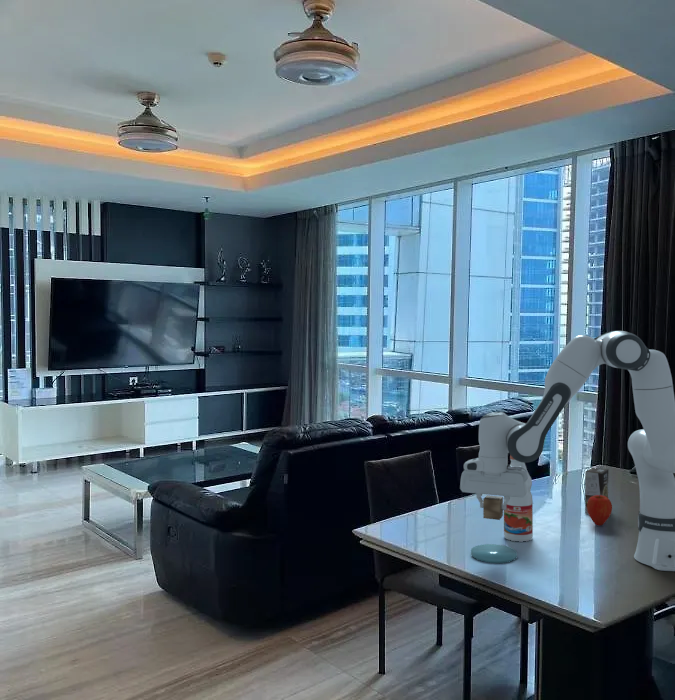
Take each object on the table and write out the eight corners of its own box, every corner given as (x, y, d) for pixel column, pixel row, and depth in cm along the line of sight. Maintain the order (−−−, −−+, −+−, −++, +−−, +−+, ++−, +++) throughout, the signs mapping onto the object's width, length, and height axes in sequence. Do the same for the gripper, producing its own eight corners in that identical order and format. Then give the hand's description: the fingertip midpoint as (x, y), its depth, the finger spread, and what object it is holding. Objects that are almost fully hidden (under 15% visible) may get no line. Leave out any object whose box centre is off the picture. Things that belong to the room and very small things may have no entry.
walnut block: (502, 515, 214) (502, 496, 214) (499, 519, 209) (499, 500, 209) (486, 514, 216) (486, 495, 216) (483, 518, 211) (483, 499, 211)
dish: (520, 551, 217) (520, 547, 217) (512, 565, 204) (512, 561, 204) (476, 545, 222) (476, 542, 222) (466, 559, 210) (466, 555, 210)
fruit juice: (534, 535, 232) (534, 453, 231) (530, 543, 223) (529, 459, 222) (506, 532, 236) (506, 452, 235) (501, 540, 227) (500, 457, 226)
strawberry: (614, 529, 237) (614, 498, 237) (588, 528, 239) (588, 497, 239) (609, 522, 246) (609, 492, 245) (585, 521, 247) (585, 491, 247)
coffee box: (602, 516, 253) (602, 473, 252) (584, 513, 257) (584, 471, 256) (609, 510, 260) (609, 468, 260) (592, 508, 264) (591, 467, 264)
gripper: (529, 465, 211) (529, 509, 211) (463, 460, 219) (463, 502, 220) (525, 469, 205) (525, 514, 205) (458, 464, 213) (458, 507, 214)
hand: (493, 508), depth 213 cm, fingers closed on walnut block, 5 cm apart
